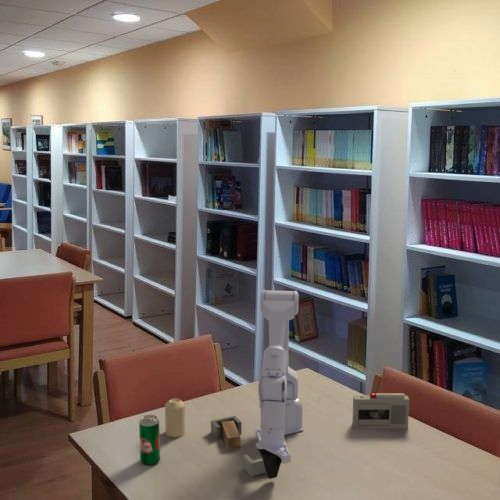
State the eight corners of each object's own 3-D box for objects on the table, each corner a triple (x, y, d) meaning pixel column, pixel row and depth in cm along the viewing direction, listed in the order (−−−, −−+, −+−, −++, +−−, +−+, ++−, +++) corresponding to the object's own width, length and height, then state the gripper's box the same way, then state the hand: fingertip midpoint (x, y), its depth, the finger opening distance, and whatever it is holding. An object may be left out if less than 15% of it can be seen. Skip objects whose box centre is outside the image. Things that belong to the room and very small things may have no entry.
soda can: (136, 462, 155) (134, 419, 153) (149, 454, 160) (148, 412, 157) (150, 468, 153) (149, 424, 151) (164, 460, 157) (163, 417, 155)
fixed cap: (234, 426, 175) (234, 415, 175) (241, 433, 171) (241, 422, 171) (210, 432, 172) (210, 420, 171) (217, 439, 168) (217, 427, 167)
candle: (181, 438, 168) (181, 404, 167) (162, 436, 169) (162, 403, 168) (187, 429, 174) (187, 396, 172) (169, 427, 175) (168, 395, 173)
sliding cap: (269, 461, 156) (269, 448, 156) (277, 469, 152) (277, 456, 152) (243, 467, 153) (243, 455, 152) (251, 476, 149) (251, 463, 148)
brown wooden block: (233, 431, 173) (233, 420, 172) (240, 448, 163) (240, 436, 163) (221, 433, 172) (221, 421, 171) (227, 450, 162) (227, 438, 162)
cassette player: (353, 428, 174) (354, 396, 173) (352, 424, 177) (353, 392, 175) (407, 428, 174) (409, 396, 173) (405, 424, 177) (407, 392, 175)
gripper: (244, 415, 149) (244, 466, 152) (272, 441, 136) (271, 496, 139) (269, 410, 152) (269, 459, 155) (298, 434, 139) (298, 488, 142)
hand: (272, 476), depth 147 cm, fingers closed
